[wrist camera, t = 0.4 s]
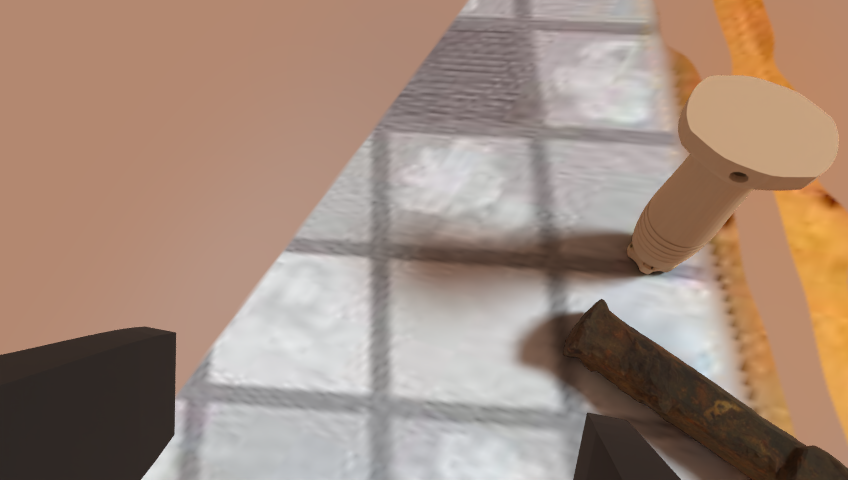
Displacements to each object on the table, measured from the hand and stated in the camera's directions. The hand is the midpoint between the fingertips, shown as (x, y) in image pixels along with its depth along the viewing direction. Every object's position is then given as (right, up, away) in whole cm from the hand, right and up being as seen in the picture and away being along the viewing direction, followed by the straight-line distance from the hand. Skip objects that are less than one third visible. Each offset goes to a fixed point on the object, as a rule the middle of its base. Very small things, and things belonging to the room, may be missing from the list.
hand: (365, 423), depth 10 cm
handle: (+16, +2, +30) cm, 34 cm away
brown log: (+18, -8, +26) cm, 33 cm away
